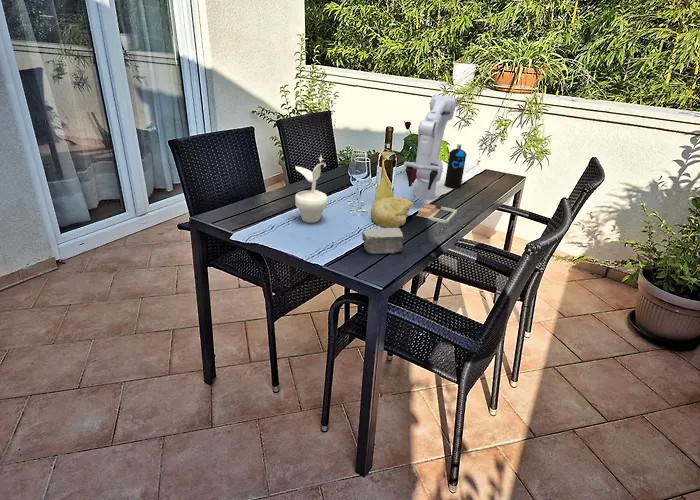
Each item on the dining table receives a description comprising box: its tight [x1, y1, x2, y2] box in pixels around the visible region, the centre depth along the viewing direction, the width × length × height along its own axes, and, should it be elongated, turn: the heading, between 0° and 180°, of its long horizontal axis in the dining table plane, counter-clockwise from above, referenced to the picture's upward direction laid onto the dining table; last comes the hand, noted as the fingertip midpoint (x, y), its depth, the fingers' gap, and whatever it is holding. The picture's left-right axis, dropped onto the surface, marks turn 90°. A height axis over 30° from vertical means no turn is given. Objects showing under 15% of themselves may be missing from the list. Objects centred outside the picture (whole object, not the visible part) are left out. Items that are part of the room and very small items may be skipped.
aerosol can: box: [443, 143, 467, 190], centre depth 213 cm, size 8×8×20 cm
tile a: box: [422, 203, 437, 213], centre depth 181 cm, size 4×4×2 cm
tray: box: [429, 206, 458, 225], centre depth 177 cm, size 6×14×2 cm, turn 152°
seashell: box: [370, 196, 414, 228], centre depth 169 cm, size 17×11×15 cm
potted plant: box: [294, 155, 328, 224], centre depth 164 cm, size 13×12×25 cm
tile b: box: [417, 207, 432, 218], centre depth 177 cm, size 4×4×2 cm
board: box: [416, 208, 441, 220], centre depth 180 cm, size 6×12×2 cm, turn 152°
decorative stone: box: [361, 227, 404, 255], centre depth 149 cm, size 15×7×10 cm
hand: (419, 187), depth 178 cm, fingers open, 7 cm apart
